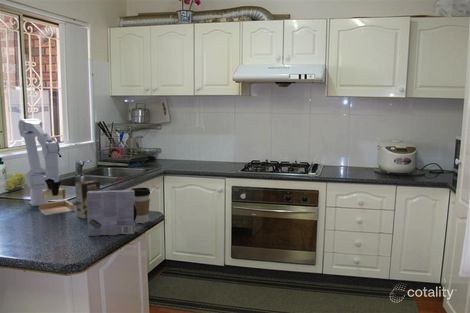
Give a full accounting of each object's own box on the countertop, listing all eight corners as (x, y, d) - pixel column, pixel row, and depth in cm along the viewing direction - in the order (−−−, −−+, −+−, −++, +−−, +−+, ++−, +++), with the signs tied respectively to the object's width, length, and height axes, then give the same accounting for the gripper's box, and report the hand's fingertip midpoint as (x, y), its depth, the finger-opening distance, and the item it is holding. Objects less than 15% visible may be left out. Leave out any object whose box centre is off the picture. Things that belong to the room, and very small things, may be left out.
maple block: (42, 199, 198) (42, 190, 198) (62, 196, 204) (61, 187, 203) (45, 201, 194) (45, 191, 194) (65, 198, 200) (64, 189, 199)
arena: (39, 210, 201) (38, 204, 200) (66, 205, 209) (66, 200, 208) (45, 215, 191) (45, 209, 191) (74, 210, 199) (73, 204, 199)
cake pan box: (138, 230, 169) (136, 188, 167) (137, 234, 164) (135, 191, 162) (89, 233, 166) (87, 190, 164) (87, 237, 161) (84, 193, 159)
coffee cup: (128, 221, 181) (126, 188, 179) (144, 217, 187) (143, 185, 185) (138, 225, 175) (136, 191, 173) (155, 221, 181) (154, 188, 179)
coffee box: (83, 219, 185) (81, 184, 183) (76, 216, 189) (74, 182, 187) (101, 214, 192) (100, 181, 190) (94, 212, 196) (92, 179, 194)
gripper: (39, 165, 200) (41, 192, 202) (46, 169, 189) (48, 198, 191) (54, 164, 204) (56, 190, 206) (62, 168, 193) (64, 196, 195)
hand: (53, 194), depth 199 cm, fingers closed on maple block, 5 cm apart
